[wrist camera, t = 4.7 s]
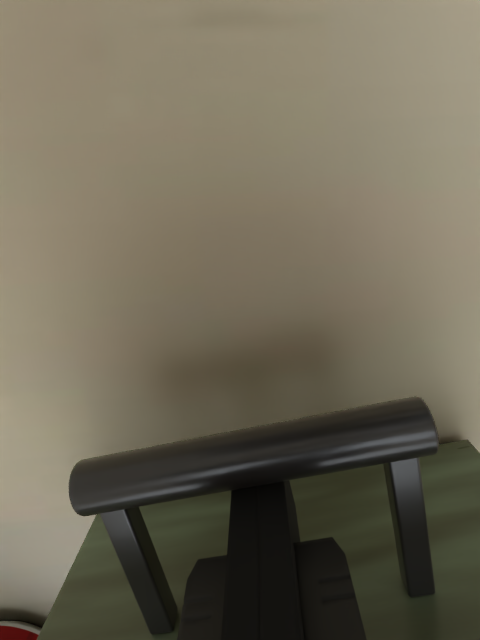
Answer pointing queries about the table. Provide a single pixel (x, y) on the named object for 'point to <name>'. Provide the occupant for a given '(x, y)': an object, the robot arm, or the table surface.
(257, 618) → the robot arm
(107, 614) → the drawer
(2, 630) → the soda can
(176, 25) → the table surface
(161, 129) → the table surface
